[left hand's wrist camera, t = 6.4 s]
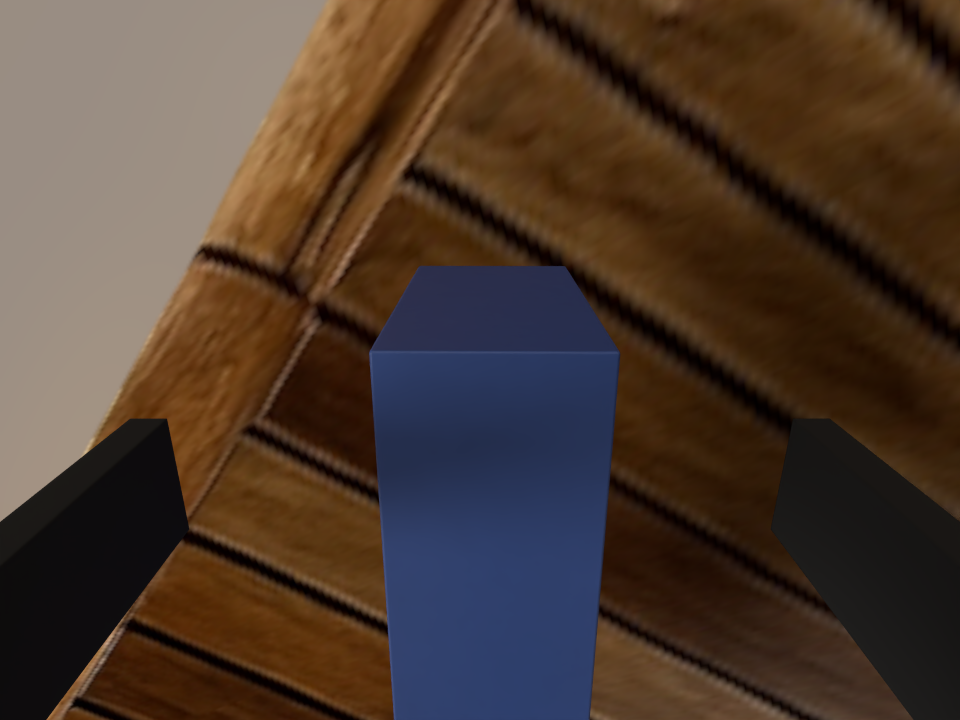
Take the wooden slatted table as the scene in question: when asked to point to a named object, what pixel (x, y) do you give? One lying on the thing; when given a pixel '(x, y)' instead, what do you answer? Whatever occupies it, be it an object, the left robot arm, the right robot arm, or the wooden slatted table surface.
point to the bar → (493, 491)
